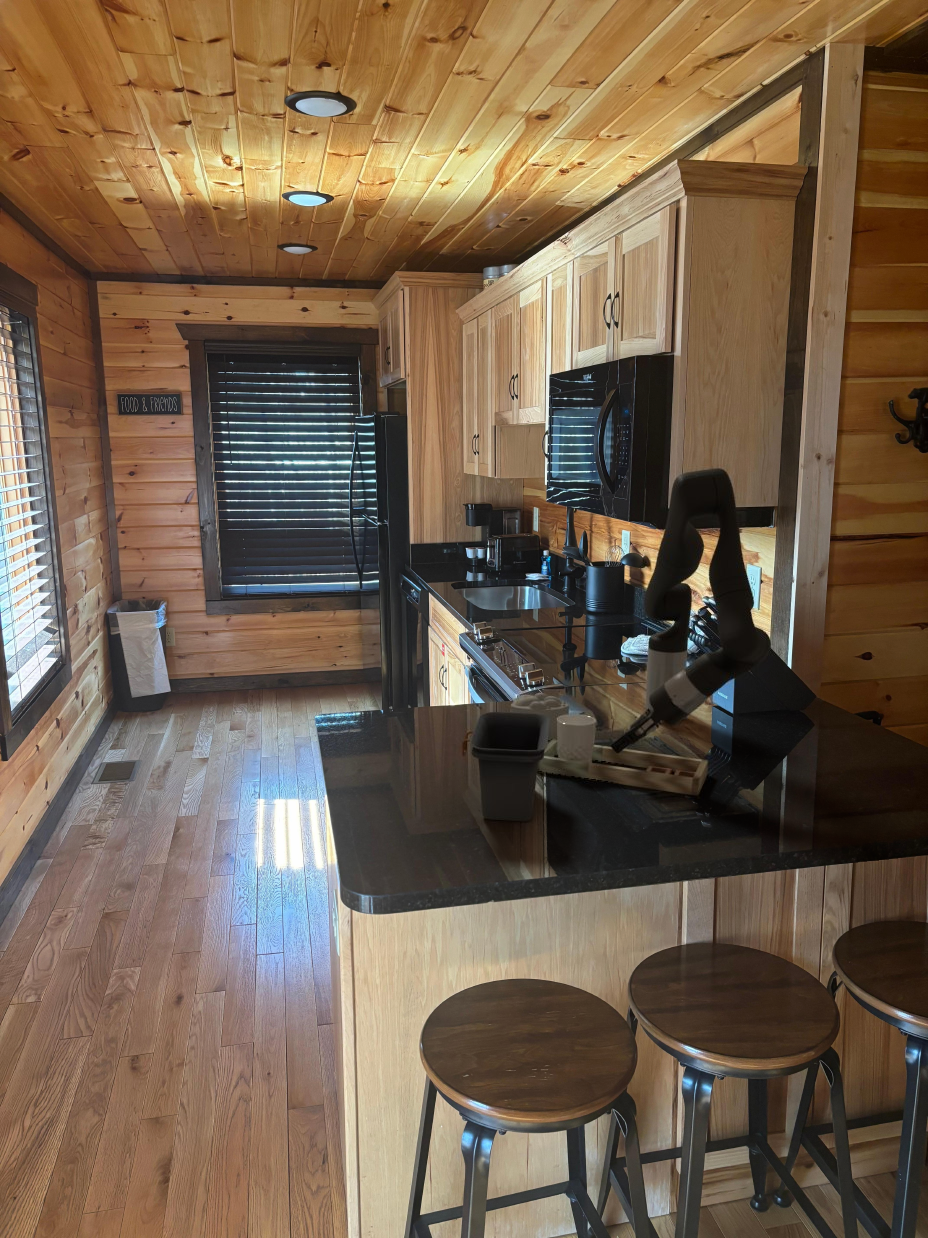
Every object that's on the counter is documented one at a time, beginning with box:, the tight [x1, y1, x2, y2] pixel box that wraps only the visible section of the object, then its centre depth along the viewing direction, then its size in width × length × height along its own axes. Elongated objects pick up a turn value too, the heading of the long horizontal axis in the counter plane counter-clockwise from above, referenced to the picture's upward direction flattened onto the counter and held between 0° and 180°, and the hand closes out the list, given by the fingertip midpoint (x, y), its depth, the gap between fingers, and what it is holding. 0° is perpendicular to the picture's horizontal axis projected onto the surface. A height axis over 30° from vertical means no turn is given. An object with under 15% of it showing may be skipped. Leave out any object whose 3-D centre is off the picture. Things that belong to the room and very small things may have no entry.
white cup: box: [557, 713, 597, 763], centre depth 182 cm, size 8×8×10 cm
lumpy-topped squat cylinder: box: [510, 692, 570, 739], centre depth 204 cm, size 10×13×9 cm
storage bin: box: [461, 711, 550, 822], centre depth 162 cm, size 21×16×14 cm
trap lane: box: [537, 739, 709, 797], centre depth 179 cm, size 32×12×3 cm, turn 67°
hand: (614, 749), depth 179 cm, fingers closed
